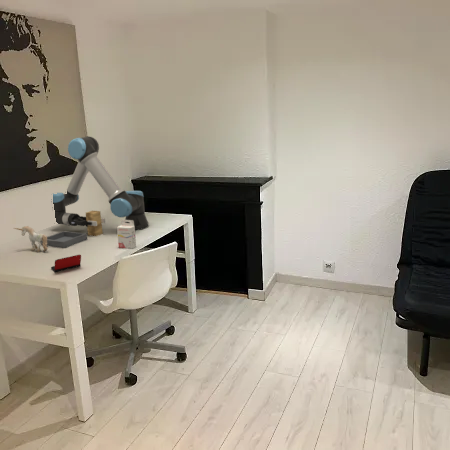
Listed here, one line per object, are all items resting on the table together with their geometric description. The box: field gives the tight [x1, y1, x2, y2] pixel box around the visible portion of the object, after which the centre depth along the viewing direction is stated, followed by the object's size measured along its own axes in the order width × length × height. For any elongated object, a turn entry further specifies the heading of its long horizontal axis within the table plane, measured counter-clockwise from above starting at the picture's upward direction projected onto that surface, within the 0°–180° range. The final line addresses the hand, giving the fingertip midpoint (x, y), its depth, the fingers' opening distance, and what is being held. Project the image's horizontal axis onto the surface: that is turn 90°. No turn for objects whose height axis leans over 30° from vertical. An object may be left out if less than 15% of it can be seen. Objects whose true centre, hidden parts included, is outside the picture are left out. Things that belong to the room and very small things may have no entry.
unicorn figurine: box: [13, 225, 49, 253], centre depth 266 cm, size 7×20×13 cm, turn 75°
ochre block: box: [85, 210, 103, 237], centre depth 292 cm, size 6×6×14 cm
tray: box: [41, 230, 88, 249], centre depth 280 cm, size 18×18×4 cm
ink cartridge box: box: [116, 219, 137, 250], centre depth 264 cm, size 9×5×15 cm, turn 71°
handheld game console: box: [50, 254, 82, 273], centre depth 235 cm, size 12×11×7 cm
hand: (100, 222), depth 290 cm, fingers closed on ochre block, 6 cm apart
